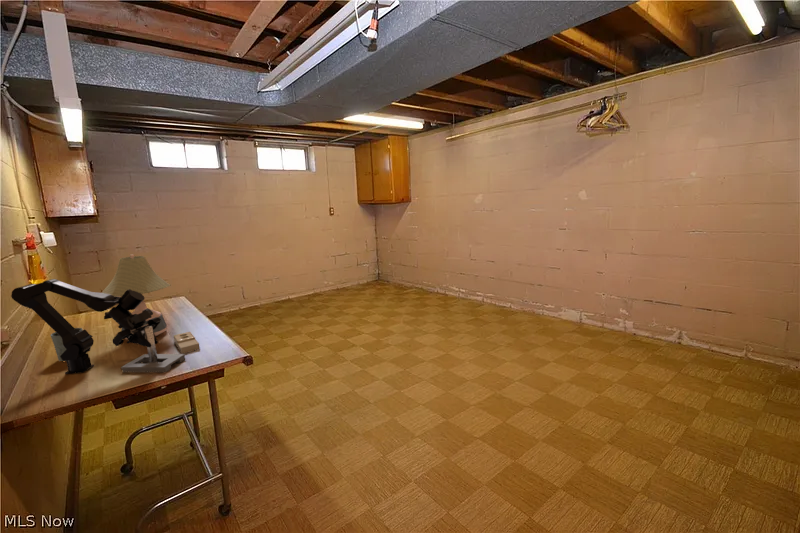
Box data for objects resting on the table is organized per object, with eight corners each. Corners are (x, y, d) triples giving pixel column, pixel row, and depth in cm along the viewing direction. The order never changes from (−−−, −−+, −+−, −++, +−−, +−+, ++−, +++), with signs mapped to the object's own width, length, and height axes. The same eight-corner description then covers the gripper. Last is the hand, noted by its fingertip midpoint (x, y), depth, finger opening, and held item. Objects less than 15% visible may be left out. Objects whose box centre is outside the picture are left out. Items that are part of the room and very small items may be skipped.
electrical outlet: (180, 346, 155) (173, 335, 168) (181, 354, 156) (174, 343, 169) (198, 341, 159) (190, 331, 173) (199, 349, 160) (191, 339, 174)
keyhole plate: (121, 372, 139) (120, 367, 139) (145, 359, 151) (144, 354, 151) (165, 372, 138) (164, 367, 138) (185, 359, 150) (184, 354, 149)
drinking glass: (54, 364, 149) (48, 337, 146) (58, 356, 157) (53, 331, 154) (86, 358, 154) (80, 331, 152) (88, 350, 162) (83, 325, 160)
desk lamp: (124, 350, 161) (107, 260, 153) (105, 338, 178) (89, 256, 170) (185, 333, 181) (173, 253, 173) (163, 323, 198) (151, 249, 190)
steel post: (144, 367, 142) (137, 329, 139) (151, 362, 147) (145, 325, 144) (156, 366, 142) (150, 329, 140) (163, 361, 147) (157, 325, 144)
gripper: (113, 312, 131) (144, 340, 132) (154, 298, 150) (181, 323, 150) (99, 332, 134) (129, 360, 134) (140, 316, 152) (167, 340, 153)
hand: (153, 344), depth 143 cm, fingers closed on steel post, 3 cm apart
